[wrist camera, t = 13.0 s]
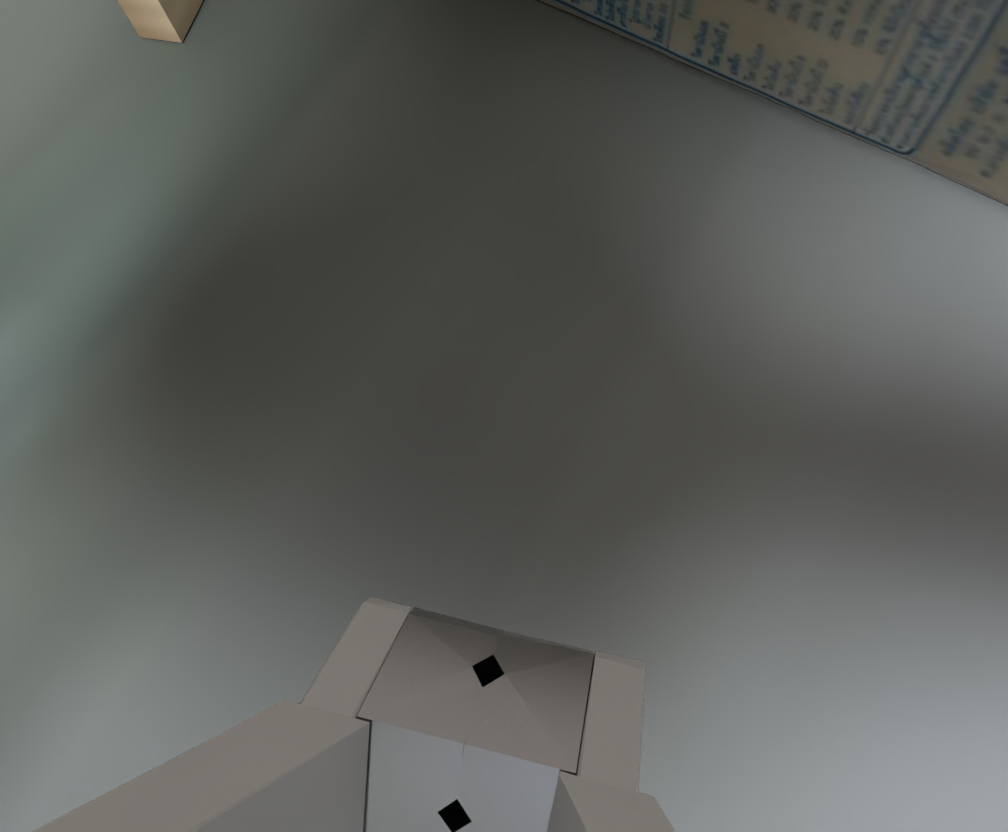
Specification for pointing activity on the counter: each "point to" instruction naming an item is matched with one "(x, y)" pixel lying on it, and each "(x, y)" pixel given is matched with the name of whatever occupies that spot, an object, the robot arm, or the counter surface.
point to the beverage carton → (852, 68)
